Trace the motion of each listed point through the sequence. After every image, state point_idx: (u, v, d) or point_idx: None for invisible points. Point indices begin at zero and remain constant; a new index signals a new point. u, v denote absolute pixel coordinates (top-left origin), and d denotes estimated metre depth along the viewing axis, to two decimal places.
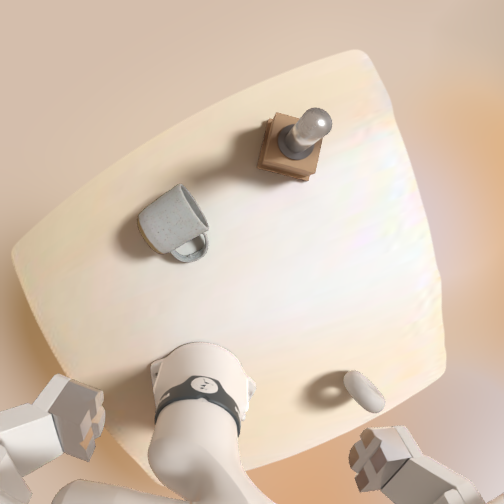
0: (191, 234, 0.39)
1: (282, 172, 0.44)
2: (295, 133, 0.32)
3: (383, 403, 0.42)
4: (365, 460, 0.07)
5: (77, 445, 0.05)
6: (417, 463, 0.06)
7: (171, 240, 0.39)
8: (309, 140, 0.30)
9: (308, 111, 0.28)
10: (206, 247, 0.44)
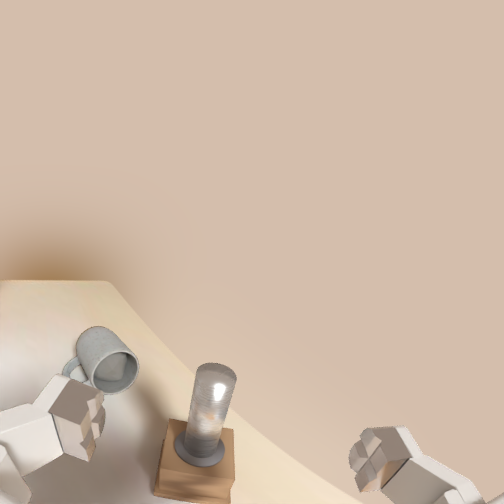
0: (89, 357, 0.33)
1: (160, 463, 0.26)
2: None
3: None
4: (365, 460, 0.07)
5: (77, 445, 0.05)
6: (417, 463, 0.06)
7: (87, 341, 0.35)
8: (193, 391, 0.22)
9: (227, 368, 0.23)
10: None
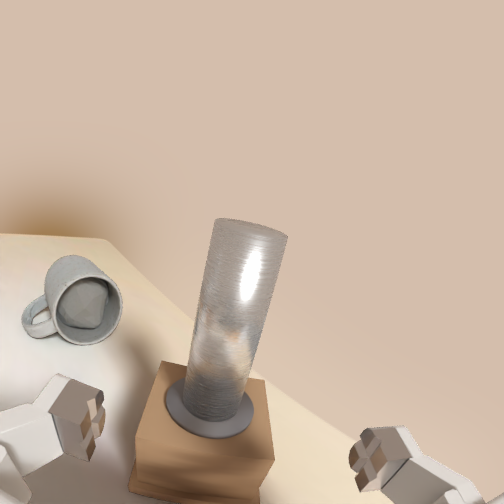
0: (54, 284, 0.23)
1: None
2: None
3: None
4: (365, 460, 0.07)
5: (77, 445, 0.05)
6: (417, 463, 0.06)
7: (56, 268, 0.26)
8: None
9: (268, 227, 0.14)
10: (31, 325, 0.22)
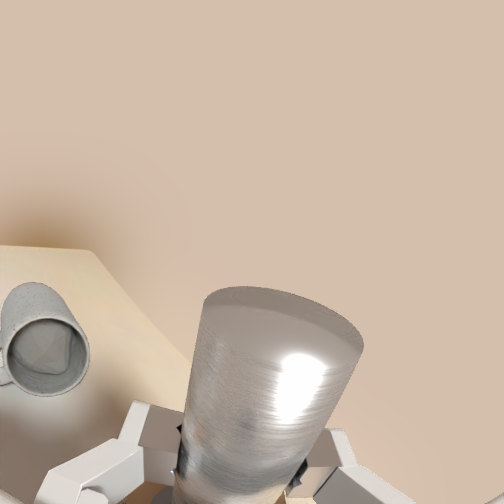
0: (5, 325, 0.16)
1: None
2: None
3: None
4: None
5: (166, 472, 0.06)
6: (346, 473, 0.06)
7: (10, 301, 0.18)
8: (187, 392, 0.06)
9: (313, 303, 0.07)
10: None
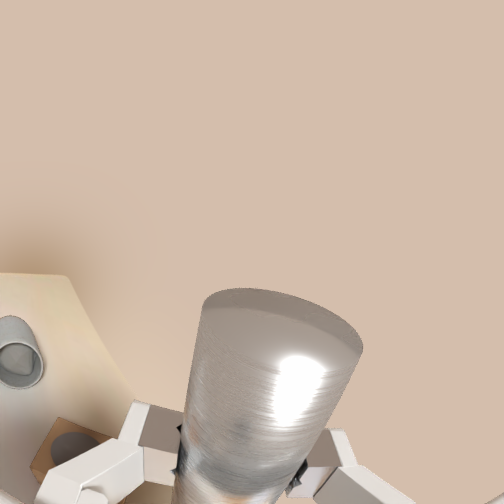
0: None
1: None
2: None
3: None
4: None
5: (166, 472, 0.06)
6: (346, 473, 0.06)
7: None
8: None
9: (312, 305, 0.07)
10: None
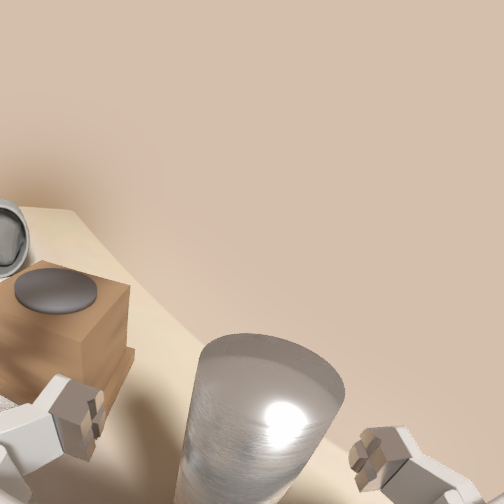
0: None
1: None
2: None
3: None
4: (365, 460, 0.07)
5: (77, 445, 0.05)
6: (416, 463, 0.06)
7: None
8: (186, 427, 0.06)
9: (301, 349, 0.07)
10: None
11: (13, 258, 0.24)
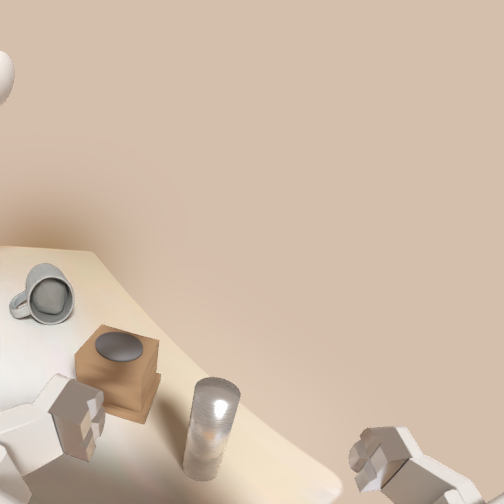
0: (30, 282, 0.33)
1: None
2: None
3: None
4: (365, 460, 0.07)
5: (77, 445, 0.05)
6: (416, 463, 0.06)
7: (33, 272, 0.35)
8: (191, 408, 0.19)
9: (230, 383, 0.20)
10: (14, 309, 0.32)
11: (61, 309, 0.37)
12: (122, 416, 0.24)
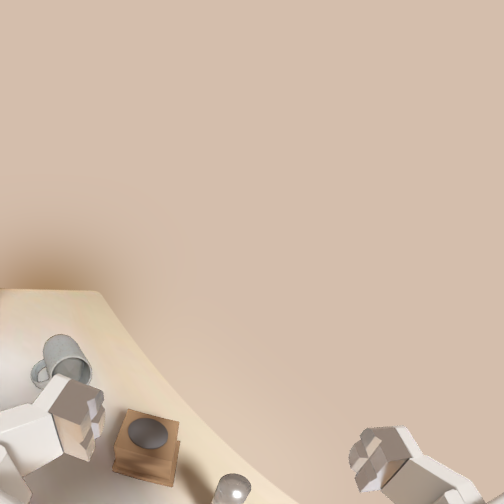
0: (49, 360, 0.36)
1: None
2: None
3: None
4: (365, 460, 0.07)
5: (77, 445, 0.05)
6: (417, 463, 0.06)
7: (49, 347, 0.38)
8: (215, 493, 0.23)
9: (243, 477, 0.23)
10: (37, 382, 0.34)
11: (80, 378, 0.40)
12: (154, 482, 0.28)
